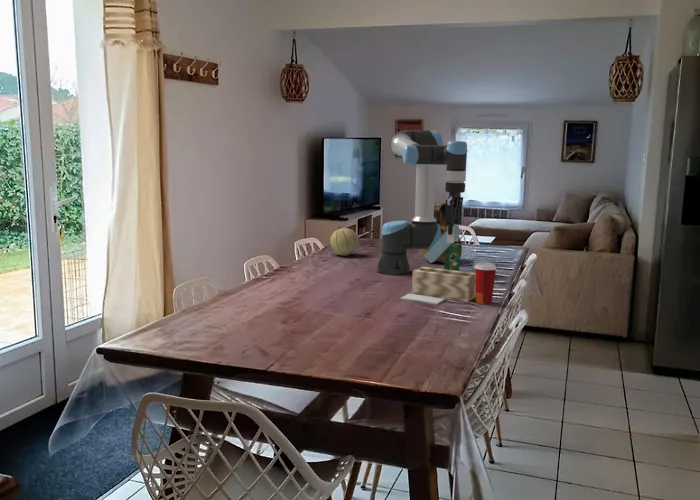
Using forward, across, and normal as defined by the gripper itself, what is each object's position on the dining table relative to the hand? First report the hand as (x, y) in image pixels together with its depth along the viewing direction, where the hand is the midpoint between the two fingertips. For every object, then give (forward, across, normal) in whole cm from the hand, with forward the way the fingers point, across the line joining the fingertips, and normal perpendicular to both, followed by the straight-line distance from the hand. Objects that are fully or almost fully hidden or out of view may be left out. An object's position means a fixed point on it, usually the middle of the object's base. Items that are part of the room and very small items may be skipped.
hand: (452, 241), depth 253 cm
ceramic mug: (+23, -44, 0) cm, 50 cm away
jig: (+22, 0, -2) cm, 22 cm away
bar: (+3, 0, -2) cm, 4 cm away
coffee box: (+23, -44, -16) cm, 52 cm away
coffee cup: (+22, +3, +15) cm, 27 cm away
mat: (+22, +11, -7) cm, 26 cm away
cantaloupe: (+23, -52, -78) cm, 96 cm away
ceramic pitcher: (+23, -64, -29) cm, 74 cm away
